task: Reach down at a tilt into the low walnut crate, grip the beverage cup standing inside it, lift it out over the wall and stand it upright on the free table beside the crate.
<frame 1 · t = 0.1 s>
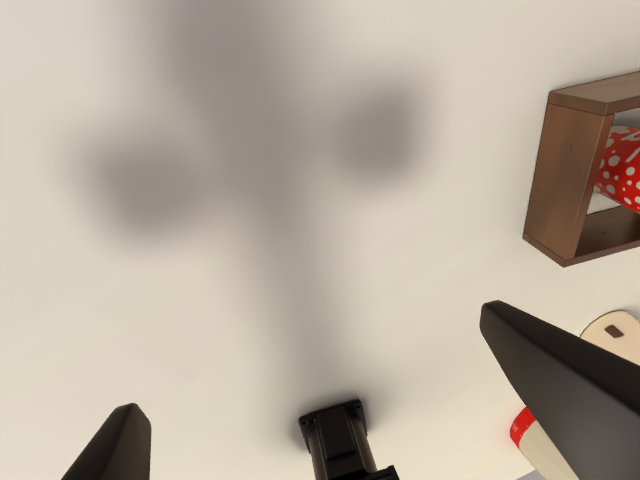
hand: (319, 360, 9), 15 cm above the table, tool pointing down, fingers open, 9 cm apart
crate: (603, 156, 26), on the table
beverage cup: (601, 156, 26), resting in crate
kitchen timer: (557, 412, 46), on the table
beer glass: (602, 330, 38), on the table
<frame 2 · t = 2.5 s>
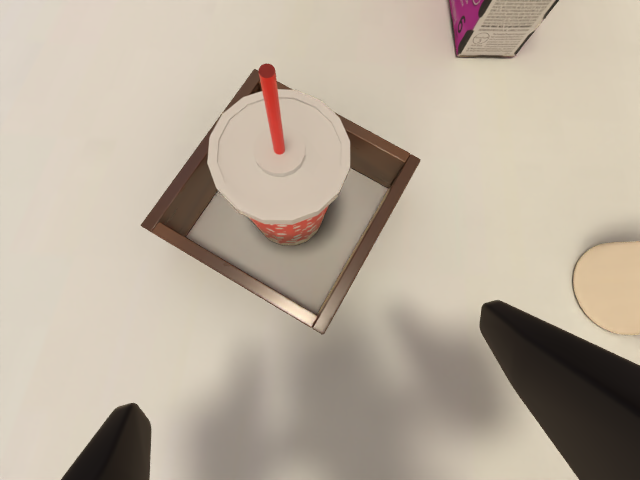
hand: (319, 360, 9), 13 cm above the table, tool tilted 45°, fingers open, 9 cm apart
crate: (289, 212, 24), on the table
beverage cup: (289, 213, 24), resting in crate
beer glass: (613, 288, 24), on the table
candy bar box: (472, 2, 28), on the table
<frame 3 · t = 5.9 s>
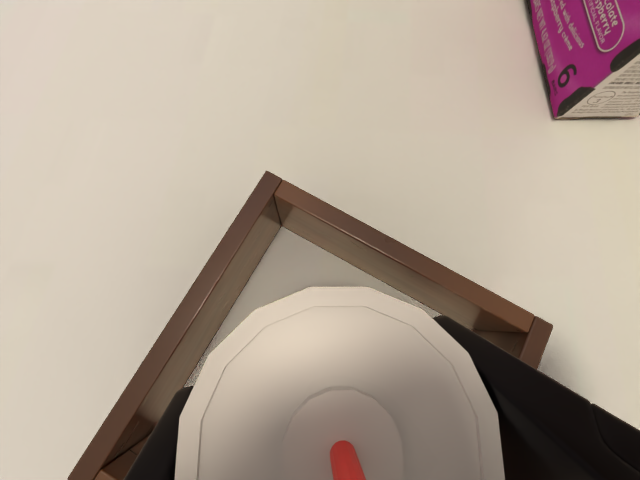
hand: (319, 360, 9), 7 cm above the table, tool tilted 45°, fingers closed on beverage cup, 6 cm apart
crate: (322, 376, 15), on the table
beverage cup: (321, 375, 15), resting in crate, touching gripper
candy bar box: (566, 39, 20), on the table
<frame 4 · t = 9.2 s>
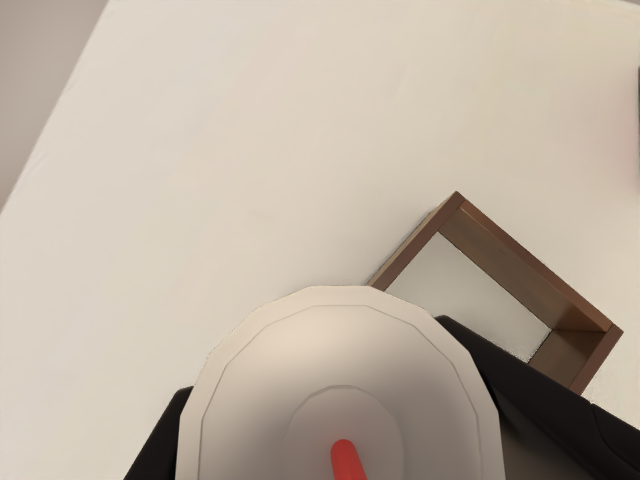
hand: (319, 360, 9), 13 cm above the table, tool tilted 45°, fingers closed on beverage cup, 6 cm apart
crate: (444, 334, 22), on the table
beverage cup: (322, 375, 15), point 6 cm above the table, touching gripper
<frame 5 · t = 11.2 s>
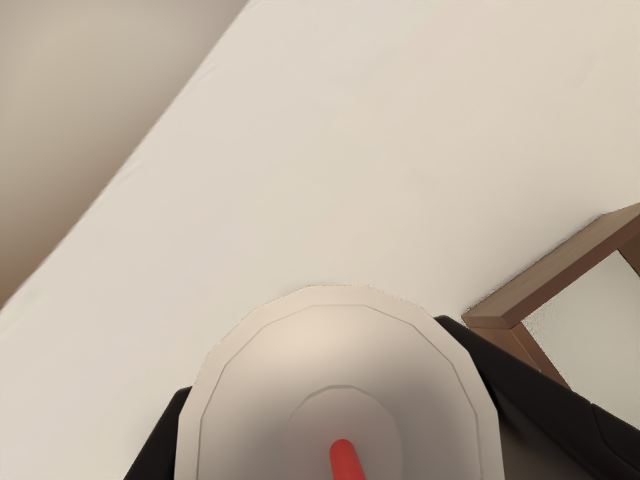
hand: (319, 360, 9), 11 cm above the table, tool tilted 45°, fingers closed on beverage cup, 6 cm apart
crate: (598, 346, 20), on the table
beverage cup: (321, 375, 15), point 4 cm above the table, touching gripper
when the fingers open (7 cm above the table, at t = 12.9 s): beverage cup stays where it is, on the table.
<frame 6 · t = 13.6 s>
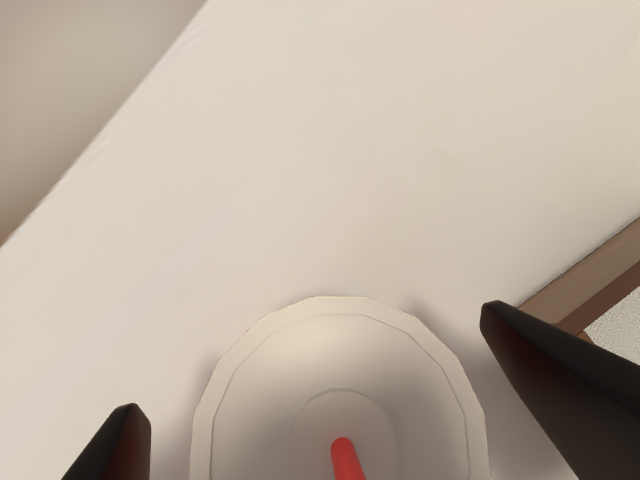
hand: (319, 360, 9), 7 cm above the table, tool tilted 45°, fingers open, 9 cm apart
beverage cup: (322, 377, 16), on the table
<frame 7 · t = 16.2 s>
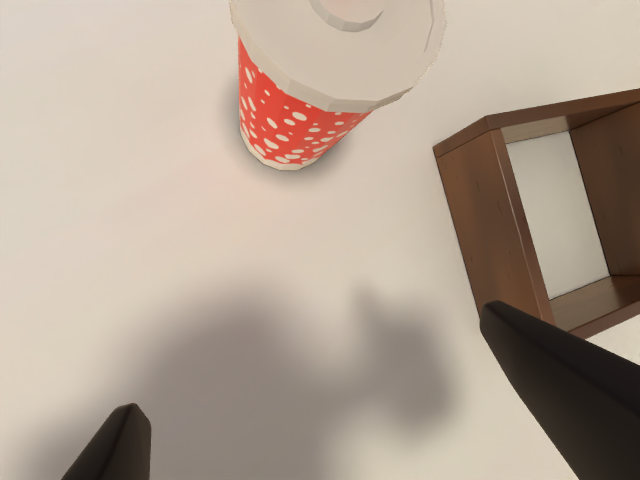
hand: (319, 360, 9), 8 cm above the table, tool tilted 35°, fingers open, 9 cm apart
crate: (533, 219, 22), on the table
beverage cup: (284, 128, 18), on the table
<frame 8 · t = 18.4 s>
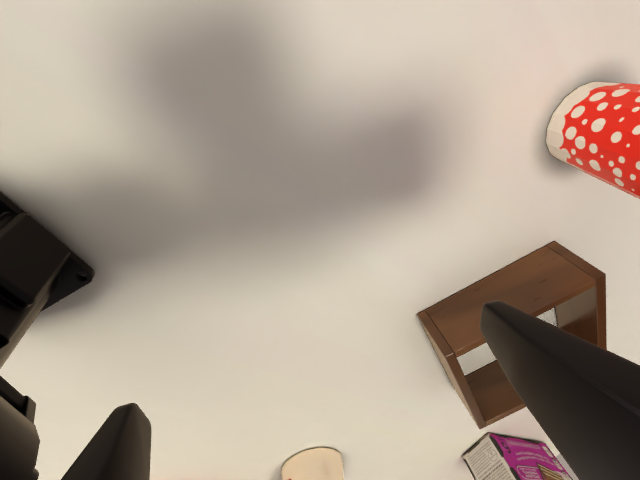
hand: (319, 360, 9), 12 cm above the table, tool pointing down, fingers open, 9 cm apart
crate: (497, 322, 29), on the table
beverage cup: (578, 122, 21), on the table
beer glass: (311, 463, 35), on the table
candy bar box: (503, 446, 42), on the table
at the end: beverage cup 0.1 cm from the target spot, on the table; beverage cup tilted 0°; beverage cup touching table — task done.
